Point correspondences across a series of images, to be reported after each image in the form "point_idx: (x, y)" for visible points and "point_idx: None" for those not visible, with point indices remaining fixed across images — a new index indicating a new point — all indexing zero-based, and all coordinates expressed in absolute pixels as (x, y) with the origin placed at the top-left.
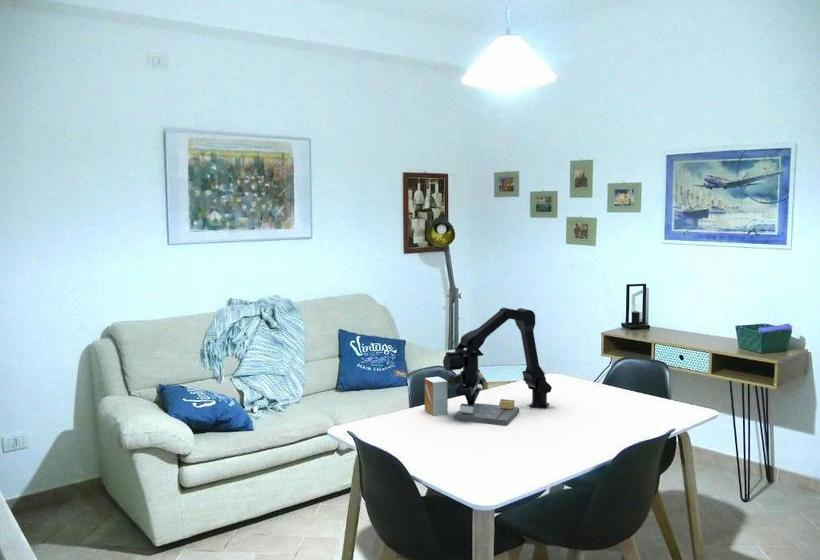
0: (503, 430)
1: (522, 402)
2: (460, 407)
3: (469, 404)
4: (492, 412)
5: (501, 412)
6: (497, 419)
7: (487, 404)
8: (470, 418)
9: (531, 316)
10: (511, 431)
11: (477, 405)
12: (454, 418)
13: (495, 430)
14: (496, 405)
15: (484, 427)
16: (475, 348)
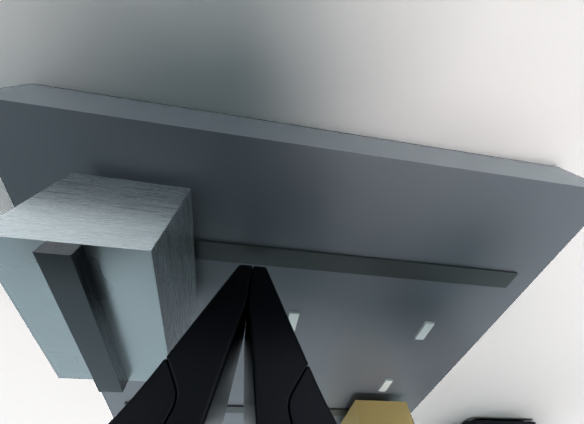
0: (51, 396)
1: (563, 395)
2: (9, 219)
3: (104, 354)
4: None
5: None
6: (110, 408)
7: (478, 331)
8: None
9: None
10: (62, 414)
11: (450, 280)
12: (17, 88)
13: (19, 376)
14: (439, 373)
15: (25, 334)
16: None
